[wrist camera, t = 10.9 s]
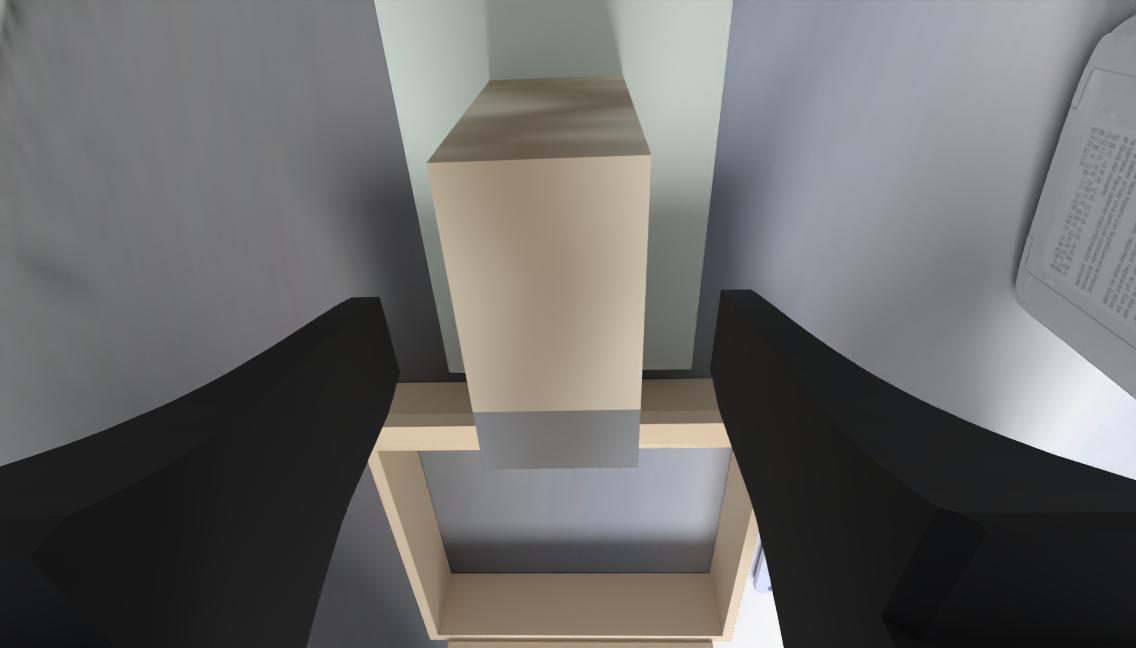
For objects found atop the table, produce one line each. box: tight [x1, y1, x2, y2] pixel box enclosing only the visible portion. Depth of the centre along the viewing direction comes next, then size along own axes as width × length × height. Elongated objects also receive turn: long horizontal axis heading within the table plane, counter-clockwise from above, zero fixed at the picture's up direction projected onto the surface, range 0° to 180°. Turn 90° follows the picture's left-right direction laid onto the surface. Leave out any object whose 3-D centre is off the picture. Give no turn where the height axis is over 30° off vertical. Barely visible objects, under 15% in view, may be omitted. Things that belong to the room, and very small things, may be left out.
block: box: [426, 75, 651, 469], centre depth 15 cm, size 4×8×8 cm, turn 2°
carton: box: [368, 378, 759, 648], centre depth 25 cm, size 16×22×6 cm
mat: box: [374, 0, 733, 373], centre depth 19 cm, size 10×15×1 cm, turn 2°
